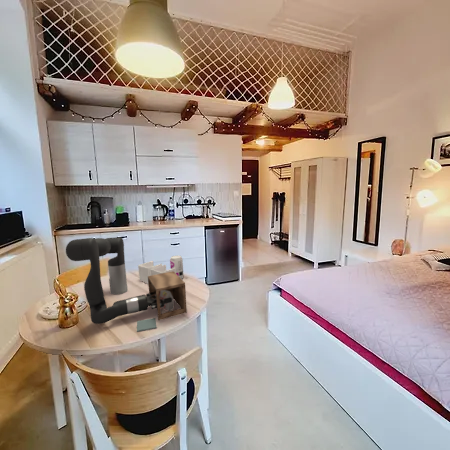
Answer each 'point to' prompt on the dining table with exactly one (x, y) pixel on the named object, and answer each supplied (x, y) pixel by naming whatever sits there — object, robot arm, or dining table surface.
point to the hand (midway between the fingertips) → (169, 296)
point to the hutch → (175, 286)
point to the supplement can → (177, 265)
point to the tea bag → (164, 295)
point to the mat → (146, 324)
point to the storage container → (151, 270)
